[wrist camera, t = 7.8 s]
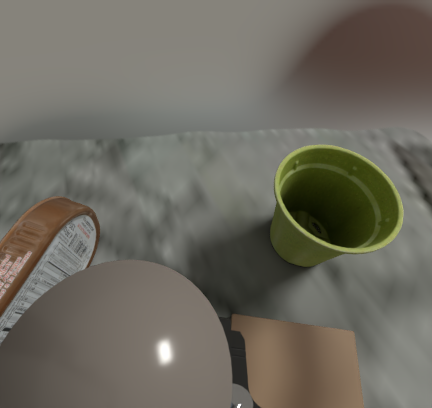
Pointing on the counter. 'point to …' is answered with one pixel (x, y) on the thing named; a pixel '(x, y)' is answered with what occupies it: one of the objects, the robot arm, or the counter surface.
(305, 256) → the plant pot
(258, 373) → the tan board
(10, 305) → the tin
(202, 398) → the blue jar
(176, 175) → the counter surface
